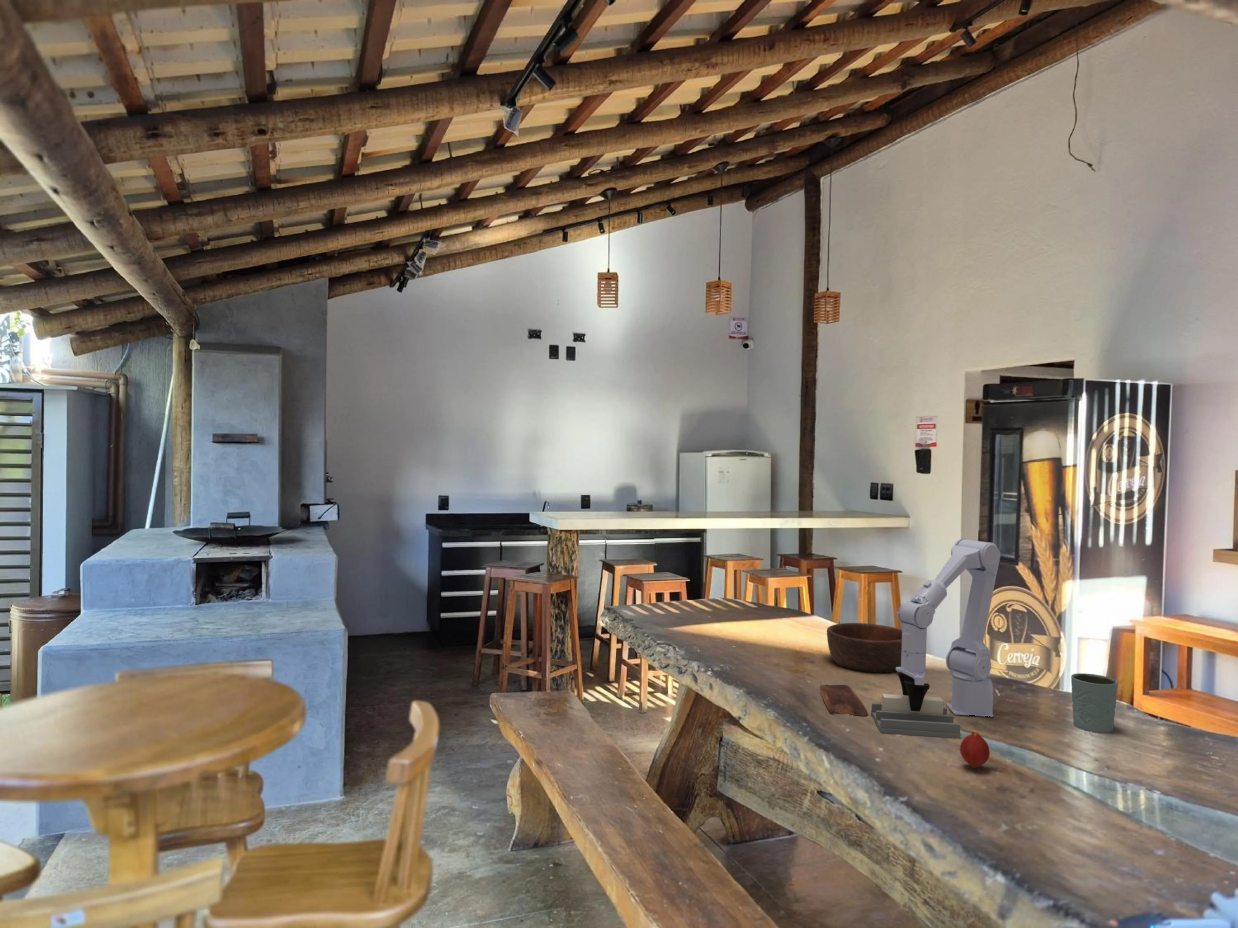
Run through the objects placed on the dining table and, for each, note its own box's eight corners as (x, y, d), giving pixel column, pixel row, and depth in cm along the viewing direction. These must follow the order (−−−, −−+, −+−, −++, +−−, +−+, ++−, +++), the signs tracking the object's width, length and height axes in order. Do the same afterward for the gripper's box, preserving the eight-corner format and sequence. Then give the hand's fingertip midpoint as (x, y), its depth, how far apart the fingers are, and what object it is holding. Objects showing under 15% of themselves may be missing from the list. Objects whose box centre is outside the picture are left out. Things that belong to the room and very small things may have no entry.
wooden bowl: (825, 671, 250) (827, 637, 250) (825, 651, 274) (826, 620, 274) (914, 679, 244) (915, 644, 244) (906, 657, 269) (907, 625, 268)
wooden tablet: (816, 680, 237) (852, 678, 236) (817, 688, 237) (853, 686, 236) (828, 711, 211) (869, 709, 209) (829, 720, 211) (870, 717, 209)
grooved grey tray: (945, 718, 209) (945, 706, 209) (960, 738, 196) (961, 725, 195) (871, 713, 212) (871, 701, 212) (881, 732, 198) (881, 720, 198)
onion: (964, 760, 182) (965, 723, 182) (992, 767, 178) (993, 730, 178) (955, 767, 177) (957, 730, 177) (984, 775, 174) (985, 737, 174)
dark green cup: (1092, 735, 200) (1094, 685, 199) (1059, 721, 209) (1061, 673, 209) (1126, 732, 202) (1128, 682, 202) (1092, 718, 212) (1094, 671, 212)
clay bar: (939, 717, 207) (940, 697, 207) (942, 721, 204) (943, 700, 204) (881, 713, 209) (882, 693, 209) (883, 717, 206) (884, 697, 206)
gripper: (891, 643, 214) (889, 695, 214) (903, 657, 199) (901, 714, 200) (919, 644, 213) (918, 697, 213) (933, 659, 198) (931, 716, 199)
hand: (911, 705), depth 206 cm, fingers open, 7 cm apart
